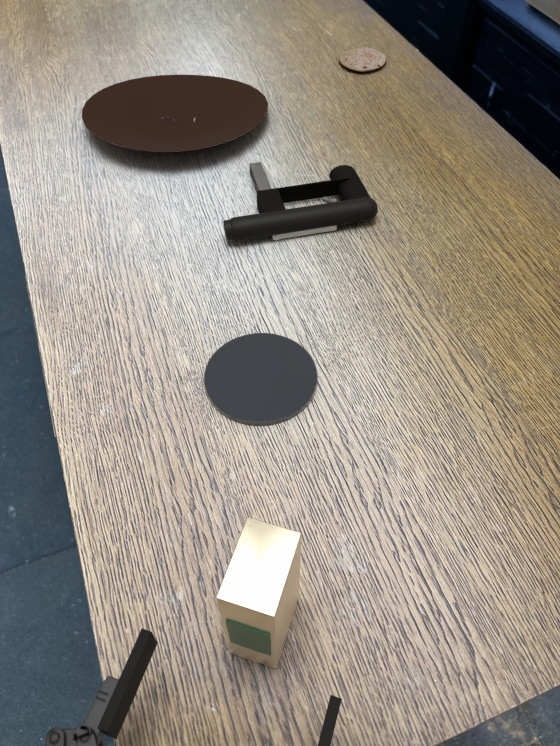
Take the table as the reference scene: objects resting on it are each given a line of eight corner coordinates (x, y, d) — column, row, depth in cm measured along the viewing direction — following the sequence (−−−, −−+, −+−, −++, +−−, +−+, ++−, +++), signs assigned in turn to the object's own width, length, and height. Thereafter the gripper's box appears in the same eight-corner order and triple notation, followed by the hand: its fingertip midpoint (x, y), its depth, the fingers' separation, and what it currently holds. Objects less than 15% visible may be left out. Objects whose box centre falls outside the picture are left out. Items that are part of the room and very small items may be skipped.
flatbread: (351, 77, 108) (351, 71, 107) (332, 56, 112) (332, 50, 111) (394, 67, 109) (395, 61, 109) (374, 47, 114) (374, 42, 113)
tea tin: (254, 582, 56) (247, 516, 45) (299, 597, 55) (301, 532, 45) (229, 655, 52) (214, 600, 42) (276, 671, 51) (273, 619, 41)
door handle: (207, 164, 89) (227, 233, 78) (347, 144, 92) (384, 208, 81) (209, 185, 91) (229, 255, 81) (345, 165, 94) (382, 230, 84)
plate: (277, 78, 108) (277, 56, 105) (257, 180, 91) (256, 157, 88) (112, 71, 110) (107, 49, 107) (62, 169, 93) (55, 146, 90)
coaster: (181, 375, 69) (181, 372, 69) (266, 319, 74) (265, 316, 74) (254, 446, 64) (254, 443, 63) (340, 381, 69) (340, 378, 68)
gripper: (-85, 982, 38) (91, 626, 50) (328, 1193, 33) (410, 740, 45) (-154, 1001, 32) (65, 592, 44) (337, 1262, 27) (429, 719, 39)
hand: (239, 666), depth 45 cm, fingers open, 13 cm apart
